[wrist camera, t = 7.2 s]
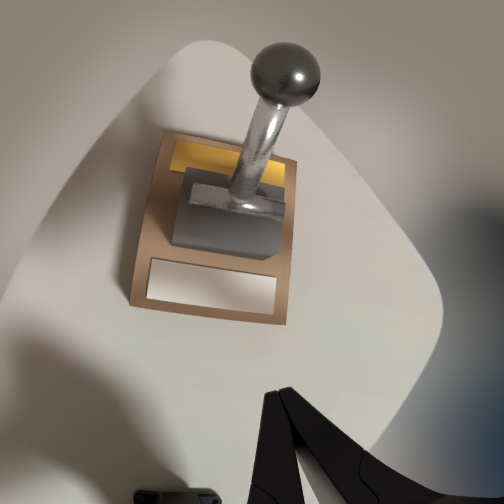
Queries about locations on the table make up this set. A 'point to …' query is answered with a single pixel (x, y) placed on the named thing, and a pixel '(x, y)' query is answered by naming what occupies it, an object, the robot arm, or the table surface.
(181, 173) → the switch unit
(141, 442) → the table surface
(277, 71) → the lever
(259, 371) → the table surface
